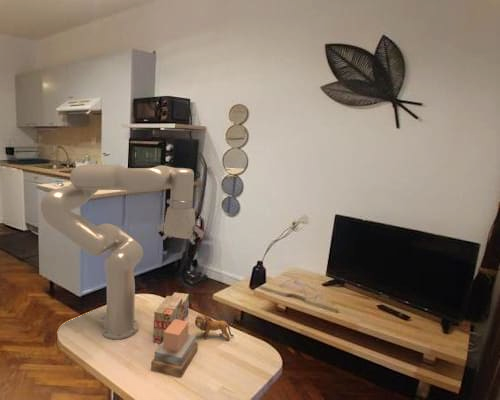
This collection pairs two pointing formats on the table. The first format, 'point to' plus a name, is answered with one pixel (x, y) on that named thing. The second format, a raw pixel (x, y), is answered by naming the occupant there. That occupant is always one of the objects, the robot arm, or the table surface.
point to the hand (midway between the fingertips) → (179, 251)
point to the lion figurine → (212, 326)
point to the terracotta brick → (175, 335)
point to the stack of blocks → (169, 314)
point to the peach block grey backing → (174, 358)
